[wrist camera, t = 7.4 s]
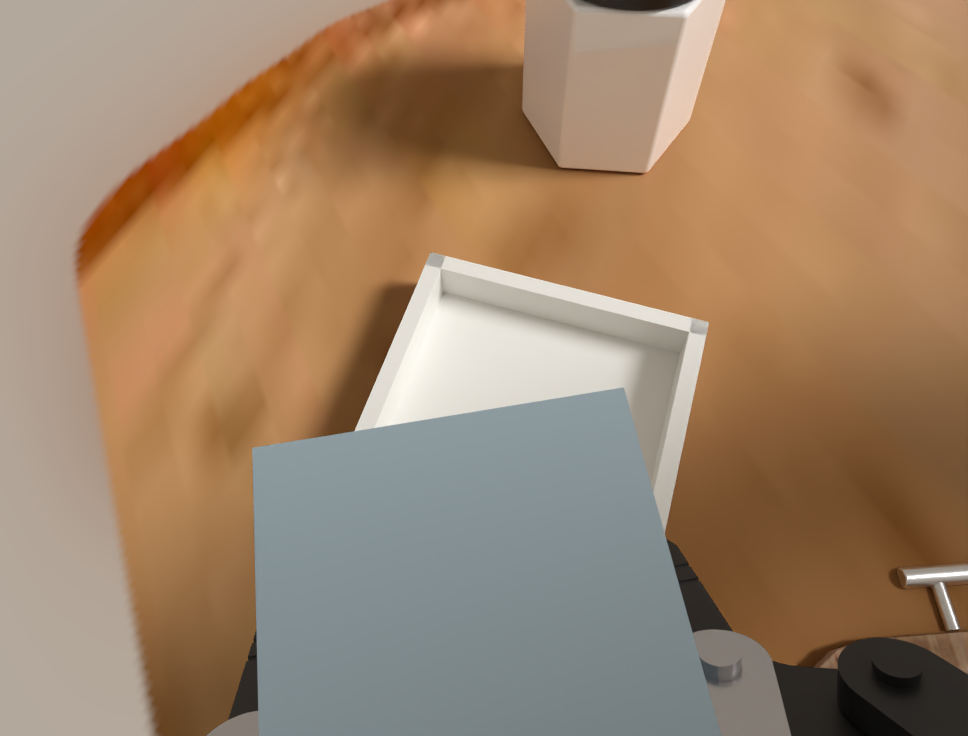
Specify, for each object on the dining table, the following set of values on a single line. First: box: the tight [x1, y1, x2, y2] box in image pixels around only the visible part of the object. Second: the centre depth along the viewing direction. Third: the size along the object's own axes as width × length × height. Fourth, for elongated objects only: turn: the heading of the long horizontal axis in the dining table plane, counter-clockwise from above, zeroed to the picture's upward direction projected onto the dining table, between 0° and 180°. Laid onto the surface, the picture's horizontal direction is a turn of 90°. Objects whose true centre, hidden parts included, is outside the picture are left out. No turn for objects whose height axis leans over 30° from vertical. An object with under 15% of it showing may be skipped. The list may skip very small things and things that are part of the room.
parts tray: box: [355, 252, 709, 533], centre depth 30 cm, size 12×12×2 cm
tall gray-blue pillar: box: [252, 387, 721, 736], centre depth 12 cm, size 4×5×11 cm
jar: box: [522, 0, 726, 173], centre depth 35 cm, size 9×8×12 cm
